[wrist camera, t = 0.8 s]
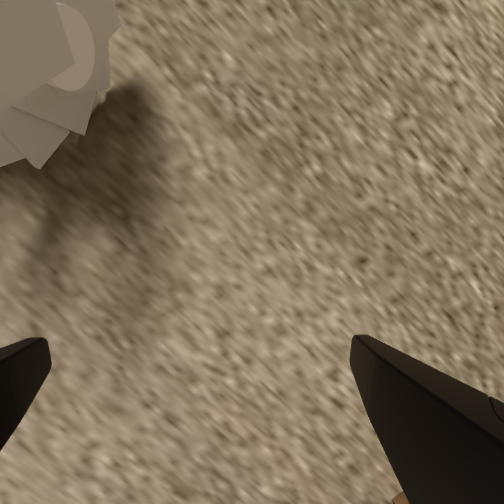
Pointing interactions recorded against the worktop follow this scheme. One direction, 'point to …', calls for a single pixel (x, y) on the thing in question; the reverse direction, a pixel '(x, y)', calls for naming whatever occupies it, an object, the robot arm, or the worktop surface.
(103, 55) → the spiral staircase
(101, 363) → the worktop surface
